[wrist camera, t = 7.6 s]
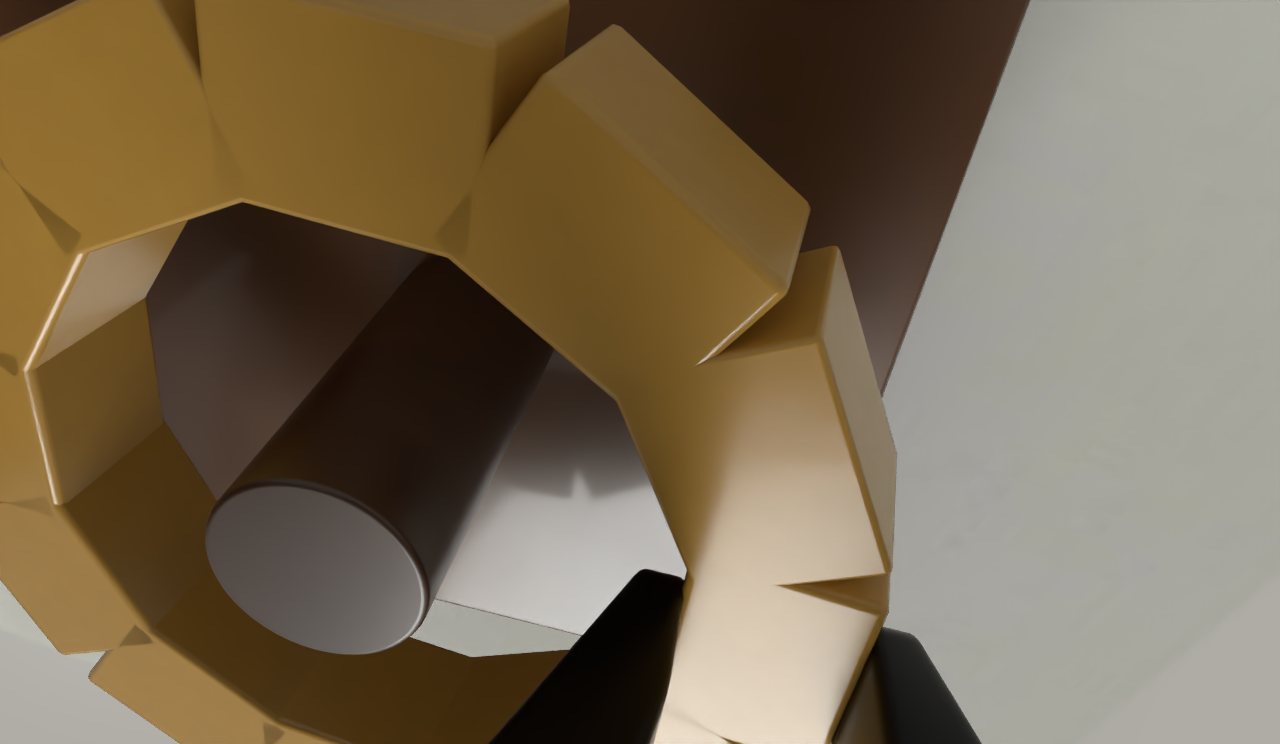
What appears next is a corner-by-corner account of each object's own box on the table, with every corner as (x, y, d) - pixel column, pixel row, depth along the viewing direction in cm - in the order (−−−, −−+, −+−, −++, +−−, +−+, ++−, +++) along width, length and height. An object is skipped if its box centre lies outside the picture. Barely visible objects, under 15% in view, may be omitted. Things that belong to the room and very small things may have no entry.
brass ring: (1052, 104, 7) (1084, 180, 5) (754, 835, 12) (733, 967, 10) (-77, -159, 8) (-283, -148, 6) (91, 611, 13) (-4, 705, 12)
